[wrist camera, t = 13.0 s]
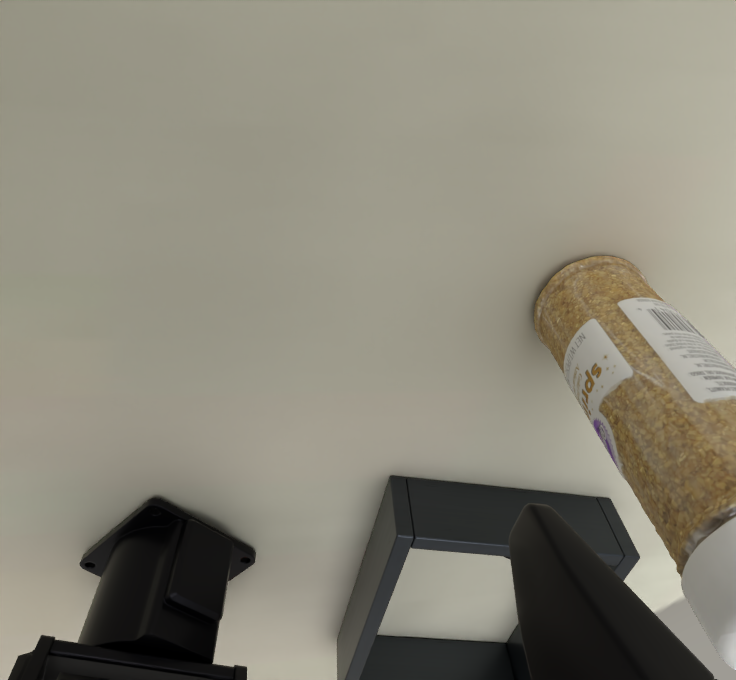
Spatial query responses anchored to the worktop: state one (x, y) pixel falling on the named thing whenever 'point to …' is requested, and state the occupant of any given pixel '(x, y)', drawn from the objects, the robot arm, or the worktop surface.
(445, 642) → the rectangular frame
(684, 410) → the sprinkles bottle
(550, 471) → the worktop surface
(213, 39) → the worktop surface
